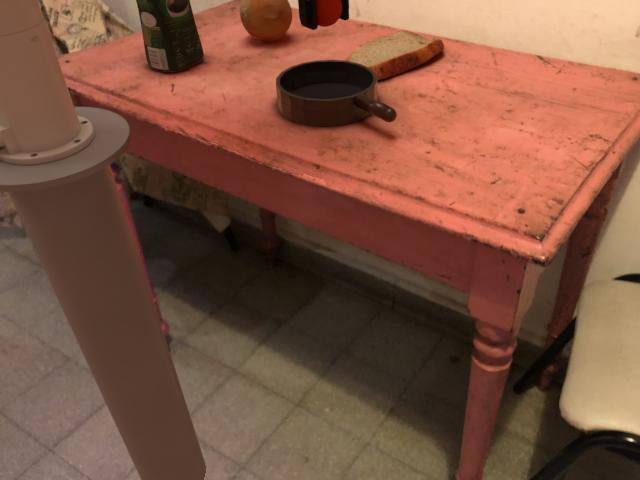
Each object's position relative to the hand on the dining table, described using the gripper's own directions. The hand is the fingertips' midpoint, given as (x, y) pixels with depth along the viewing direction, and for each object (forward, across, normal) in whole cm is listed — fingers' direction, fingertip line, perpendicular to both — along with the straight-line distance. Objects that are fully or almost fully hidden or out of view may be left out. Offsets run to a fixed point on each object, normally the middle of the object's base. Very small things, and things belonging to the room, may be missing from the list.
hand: (325, 21), depth 83 cm
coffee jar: (+12, +10, -31) cm, 35 cm away
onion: (+13, -9, -30) cm, 34 cm away
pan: (+12, 0, 0) cm, 12 cm away
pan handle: (+10, 0, +11) cm, 15 cm away
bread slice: (+13, -19, -5) cm, 23 cm away
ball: (-2, 0, 0) cm, 2 cm away
